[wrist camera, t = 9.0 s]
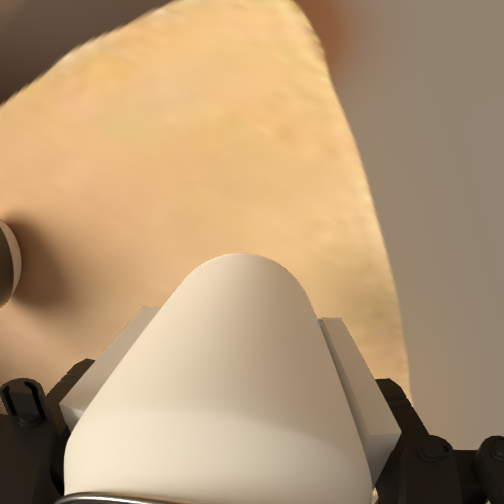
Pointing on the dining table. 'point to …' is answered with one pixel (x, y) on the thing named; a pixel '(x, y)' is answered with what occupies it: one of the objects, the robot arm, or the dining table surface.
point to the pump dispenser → (8, 263)
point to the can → (222, 403)
